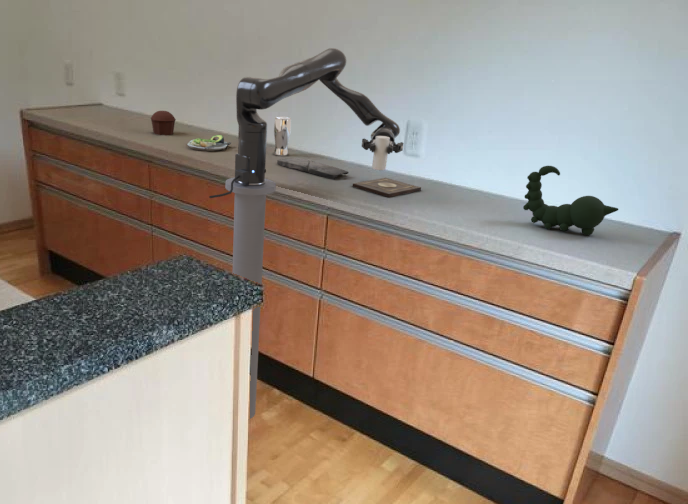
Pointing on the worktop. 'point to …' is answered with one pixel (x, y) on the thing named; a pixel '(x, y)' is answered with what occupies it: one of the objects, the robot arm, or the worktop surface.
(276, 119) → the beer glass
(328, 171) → the stone slab
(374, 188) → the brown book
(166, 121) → the muffin
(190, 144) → the salad plate
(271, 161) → the worktop surface
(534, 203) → the toy figurine
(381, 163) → the white cylinder
